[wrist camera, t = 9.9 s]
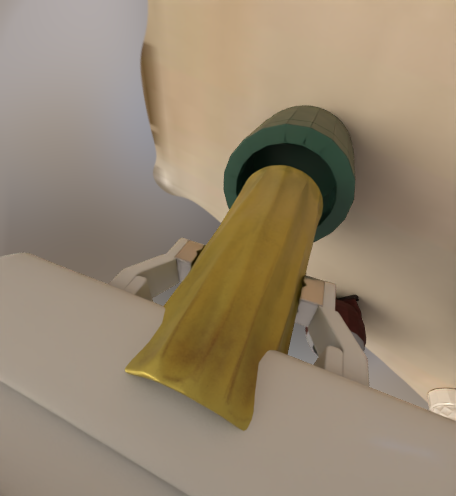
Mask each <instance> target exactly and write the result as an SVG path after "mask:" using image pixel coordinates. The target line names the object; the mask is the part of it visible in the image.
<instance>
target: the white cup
mask: <svg viewBox="0 0 456 496" xmlns="http://www.w3.org/2000/svg"><path fill="white" fill-rule="evenodd" d="M427 399H428V404H429V409H430V411H431V412H434V413H437V414H439V415H442V416H444V417H447V418H449V419H452V420H454V421H456V389H448V388H443V389H442V388H441V389H435V390H432V391H430V392H429V393H428V395H427Z"/></svg>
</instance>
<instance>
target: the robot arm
mask: <svg viewBox="0 0 456 496" xmlns="http://www.w3.org/2000/svg"><path fill="white" fill-rule="evenodd" d="M205 246H206V245H203V244H200V243H197V242H194V241H191V240H187V239H184V238H180V239H179V240H178V241H177V242H176V243H175V245H174V246H173V247H172V248H171V249H170V250H169V251H168V253H167V254H166V255H163V254H162V255H160V256H157V257H154V258H152V259H149V260H146V261H144V262H141V263H138V264H136V265H133V266H130V267H127V268H124V269H123V270H122V271H121V272H120V273H119V274H118V275H117V276H116V277H115V278H114V279H112V280H111V281H110V282H109V283H108V284H106V283H103V282H101V281H98V280H95V279H93V278H91V277H88V276H86V275H83V274H80V273H78V272H75V271H73V270H70V269H68V268H65V267H63V266H60V265H58V264H55V263H52V262H50V261H47V260H45V259H42V258H40V257H37V256H35V255H33V254H30V253H16V254H11V255H7V256H2V257H0V496H456V421H454V420H452V419H449V418H447V417H444V416H442V415H439V414H437V413H434V412H431V411H429V410H426V409H424V408H421V407H419V406H416V405H414V404H411V403H409V402H406V401H403V400H401V399H398V398H396V397H393V396H390V395H388V394H386V393H383V392H380V391H378V390H376V389H373V388H370V387H369V374H368V360H367V357H366V355H365V354H364V352H363V350H362V349H361V347H360V346H359V344H358V343H357V341H356V339H355V338H354V336H353V335H352V333H351V332H350V330H349V328H348V327H347V325H346V324H345V322H344V320H343V319H342V317H341V316H340V314H339V313H338V312H337V311H335V298H336V285H335V284H333V283H330V282H327V281H323V280H320V279H316V278H313V277H309V276H306V275H304V277H303V282H302V286H303V288H302V289H301V291H300V296H299V301H298V303H299V305H298V310H297V314H296V318H295V323H298V324H300V325H303V326H305V327H308V331H309V334H310V336H311V339H312V341H313V344H314V346H315V349H316V351H317V354H318V356H319V358H318V359H317V360H316V362H315V363H314V365H312V364H309V363H307V362H304V361H302V360H299V359H297V358H294V357H292V356H289V355H287V354H284V353H281V352H279V351H275V350H269V351H267V352H266V354H265V355H264V356H263V358H262V359H261V360H260V362H259V365H258V373H257V381H256V389H255V402H254V412H253V416H252V420H251V422H250V424H249V427H248V428H247V430H245V431H243V430H241V429H238V428H237V427H236V426H234V425H233V424H231V423H230V422H228V421H227V420H225V419H224V418H222V417H221V416H220V415H218V414H216V413H214V412H213V411H211V410H209V409H208V408H206V407H204V406H202V405H201V404H199V403H197V402H196V401H194V400H192V399H190V398H189V397H187V396H185V395H183V394H181V393H179V392H177V391H175V390H173V389H171V388H169V387H167V386H164V385H162V384H160V383H157V382H155V381H152V380H150V379H147V378H143V377H139V376H135V375H131V374H128V373H126V372H125V368H126V366H127V365H128V364H129V362H131V360H132V359H133V358H134V357H135V356H136V355H137V354H138V353H139V352H140V351H141V350H142V349H143V348H144V347H145V346H146V344H147V343H148V342H149V341H150V340H151V338H152V337H153V335H154V334H155V333H156V331H157V330H158V328H159V327H160V325H161V324H162V321H163V317H164V313H165V308H164V307H163V306H162V305H159V304H157V303H154V302H153V300H152V298H153V297H155V296H157V295H158V294H160V293H162V292H164V291H166V290H167V289H169V288H171V287H172V286H174V285H176V284H178V283H179V282H182V281H183V280H184V279H185V277H186V276H187V275H188V273H189V271H190V270H191V268H192V267H193V265H194V263H195V261H196V260H197V258H198V256H199V255H200V253H201V252H202V250H203V249H204V247H205Z"/></svg>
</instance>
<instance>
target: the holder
mask: <svg viewBox="0 0 456 496" xmlns="http://www.w3.org/2000/svg"><path fill="white" fill-rule="evenodd" d="M272 165H286V166H291V167H293V168H296V169H298V170H301V171H303V172H304V173H306V174H307V175H309V176H310V177H311V178H312V179H313V180H314V182H315V183H316V184H317V186H318V187H319V189H320V192H321V194H322V198H323V210H322V216H321V218H320V220H319V222H318V225H317V229H316V233H315V237H314V241H313V242H315V241H317V240H319V239H321V238H323V237H325V236H327V235H328V234H330V233H332V232H333V231H334V230H335V229H336V228H337V227H338V226H339V225H340V224H341V223H342V222H343V221H344V220H345V218H346V216H347V214H348V212H349V210H350V208H351V205H352V203H353V200H354V192H355V166H354V150H353V146H352V142H351V138H350V135H349V133H348V131H347V129H346V128H345V126H344V125H343V123H342V122H341V121H340V120H339V119H338V118H337V117H336V116H334V115H333V114H332V113H330V112H328V111H326V110H324V109H321V108H318V107H313V106H295V107H291V108H287V109H285V110H282V111H280V112H278V113H276V114H275V115H273V116H272V117H271V118H269V119H267V120H266V121H265V122H264V123H263V124H261V125H260V126H259V127H258V128H257V129H256V130H254V131H253V132H252V133H251V134H250V135H249V136H247V137H246V138H245V139H244V140H243V141H242V142H241V143H240V145H239V146H238V147H237V148H236V149H235V151H234V152H233V153H232V154H231V156H230V159H229V161H228V164H227V167H226V169H225V172H224V194H225V197H226V201H227V205H228V208H229V210H230V208H231V207H232V205H233V203H234V202H235V200H236V198H237V197H238V195H239V194H240V192H241V190H242V188H243V186H244V185H245V183H246V181H247V179H248V178H249V177H250V176H251V175H252V174H253V173H255V172H256V171H258V170H260V169H262V168H264V167H267V166H272Z"/></svg>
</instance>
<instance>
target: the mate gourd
mask: <svg viewBox="0 0 456 496" xmlns="http://www.w3.org/2000/svg"><path fill="white" fill-rule="evenodd" d="M356 301H359V299H358V296H357V295H352V296H348V297H344V298H339V299H337V298H335V311H337V312H338V313H339V314H340V316H341V317H342V319H343V320H344V322H345V324H346V325H347V327H348V328H349V330H350V332H351V333H352V335H353V336H354V338H355V339H356V341H357V343H358V344H359V346H360V347H361V349H362V350H363V351H364V349H365V344H366V333H365V327H364V323H363V320H362V316H361V311H360V309H359V306H358V304H357V302H356ZM306 339H307V341H308V344H309V346H310V348H311V350H312V351H313V352H314V353H315V354H316V355H317V356H318V354H317V351H316V349H315V346H314V344H313V341H312V339H311V336H310V334H309V331H308V327H306ZM318 357H319V356H318Z"/></svg>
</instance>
